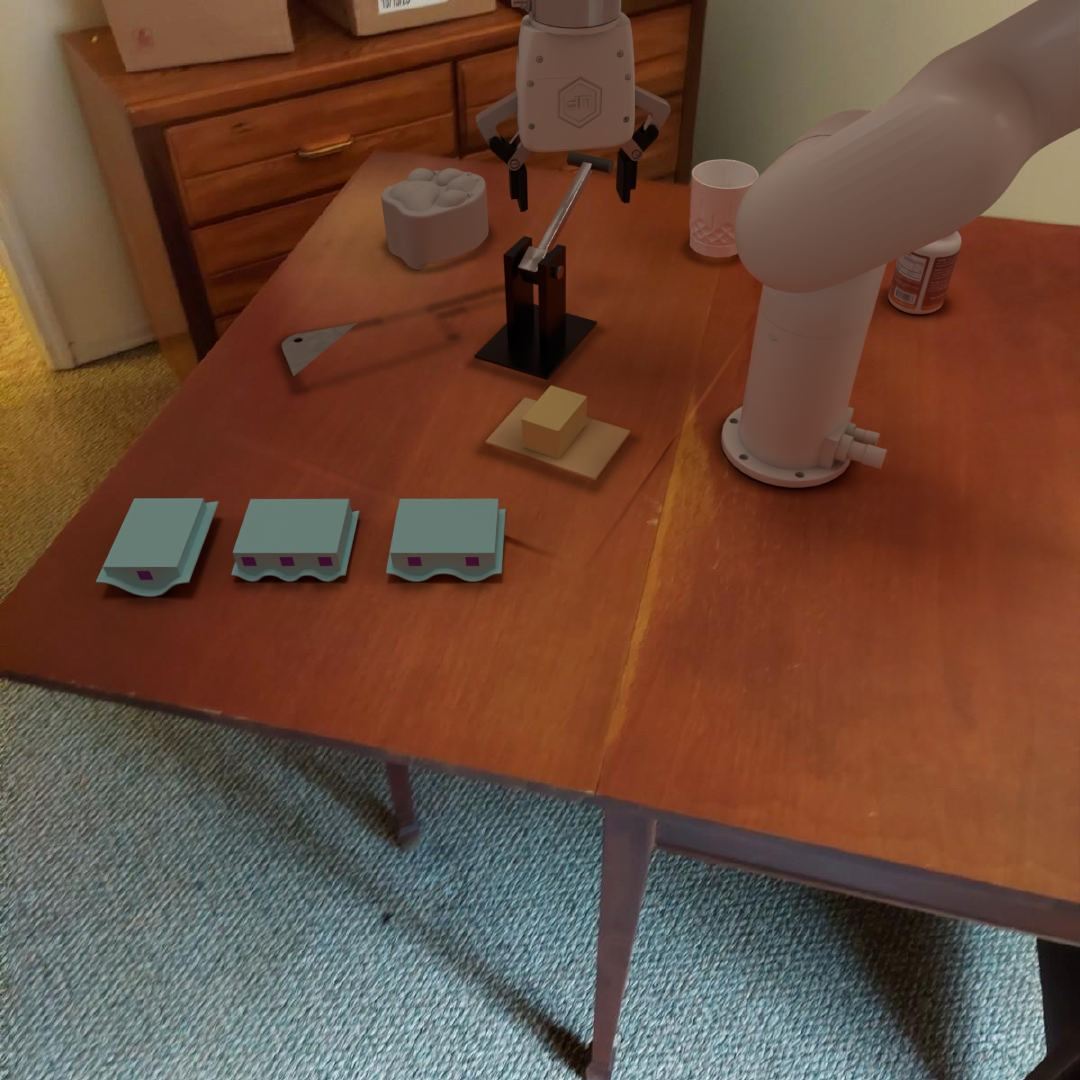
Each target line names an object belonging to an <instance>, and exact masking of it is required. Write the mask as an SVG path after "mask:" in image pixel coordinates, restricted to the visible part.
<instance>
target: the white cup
mask: <svg viewBox="0 0 1080 1080" xmlns="http://www.w3.org/2000/svg"><path fill="white" fill-rule="evenodd" d="M759 176H760V174H759V172H758V170H757V169H756V168H755V167H754V166H753V165H751V164H748V163H746V162H743V161H740V160H735V159H724V158H720V159H710V160H706V161H703V162H700V163H698V164H697V165H695V166H694V167H693V168H692V170H691V180H690V181H691V182H690V198H689V199H690V201H689V226H688V227H689V234H690V235H689V247H690V248H691V249H692V250H693V252H696V253H698V254H699V255H702V256H704V257H711V258H715V259H717V258H730V257H733V256H735V255H738V253H737V249H736V245H735V237H734V228H735V220H736V215H737V211H738V208H739V206H740V203H741V201H742V199H743V197H744V195H745V194H746V192H747V190H748V189H749V188H750V186H751V185H752V184H753V183H754V182H755V180H756V179H757V178H758V177H759Z"/></svg>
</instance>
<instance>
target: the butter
mask: <svg viewBox="0 0 1080 1080" xmlns="http://www.w3.org/2000/svg"><path fill="white" fill-rule="evenodd" d="M536 401H537V402H536V403H535V404H534V405H533V406H532V407H531V409H530V410H529V411H528V412H527V413H526V414H525V415H524V417H523V418H522V419H521V422H522V446H523V447H524V448H527V449H529V450H532V451H535V452H538V453H541V454H544V455H547V456H550V457H553V458H556V459H559V458H560V457H561V456H562V455H563V453H564V452H565V451H566V450H567V448H568V447H569V446H570V445H571V443H572V442H573V441H574V439H575V438H576V437H577V436H578V434H579V433H580V432H581V431H582V429H583V428H584V427H585V426H586V423H587V417H588V415H587V414H588V396H587V395H584V394H581V393H577V392H574V391H571V390H568V389H564V388H561V387H558V386H556V385H555V386H554V385H550V386H549V387H548V388H546V390H545V391H544V392H543V394H542V395H541V396H540V397H539V398H538V399H537V400H536Z"/></svg>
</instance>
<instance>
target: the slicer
mask: <svg viewBox="0 0 1080 1080" xmlns="http://www.w3.org/2000/svg"><path fill="white" fill-rule="evenodd" d="M529 246H531V247H533V238H532V237H531V236H526V235H522V237H521V238H520V239H519V240H518V241H516V242H515V243H514V244H513V245H512V246H511V247H509V249H508V250H507V251H506V252H504V254H503V255H502V257H503V258H502V259H503V275H504V277H503V278H504V294H505V296H504V297H505V310H506V311H505V317H506V323H505V324H504V325H503V326H502V327H501V328H500V329H499V330H498V331H497V332H496V333H495V334H494V335H493V336H492V337H491V338H490V339H489V340H488V341H487V342H486V343H485V344H484V345H483V346H482V347H481V348H480V349H479V350H478V351H477V352H476V353H475V354H474V358H475V359H478V360H480V361H483V362H488V363H490V364H494V365H497V366H501V367H504V368H507V369H510V370H514V371H517V372H520V373H524V374H526V375H529V376H533V377H536V378H539V379H543V380H546V381H548V380H549V379H550V378H551V377H552V375H553V374H554V373H555V372H557V370H558V368H560V366H561V365H563V363H564V362H565V361H566V359H567V358H568V357H570V355H571V354H572V353H573V352H574V350H576V349H577V347H578V346H579V345H580V344H581V343H582V342H583V340H584V339H585V338H586V337H587V336H588V335H589V334H590V332H591V331H592V330H593V329H594V328H595V327H596V326H597V324H598V321H597V320H594V319H590V318H586V317H582V316H579V315H577V314H572V313H568V312H567V246H566V245H562V244H560V243H559V244H556V245H554V246H553V248H552V250H551V251H550V252H549V253H548V254H547V255H546V256H545V257H544V258H543V259H542V260H541V261H540V262H539V263H538V285H537V292H538V293H537V294H538V296H537V298H538V299H537V300H538V304H536V303H535V295H534V291H535V290H534V284H532V283H528V282H524V281H523V280H522V277H521V274H520V272H519V269H518V266H519V264H520V262H521V260H522V258H523V257H524V255H525V253H526V251H527V249H528V247H529Z"/></svg>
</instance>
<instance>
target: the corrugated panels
mask: <svg viewBox="0 0 1080 1080" xmlns="http://www.w3.org/2000/svg"><path fill="white" fill-rule="evenodd" d="M219 503H220V502H219V500H215V501H209V502H206V501H205V498H203V497H201V498H199V497H194V498H193V497H191V498H190V497H185V498H184V497H183V498H182V497H181V498H180V497H178V498H177V497H176V498H174V497H173V498H167V497H165V498H163V497H162V498H159V497H158V498H157V497H155V498H151V497H150V498H149V497H148V498H146V497H145V498H139V497H138V498H137V497H135V498H133V501H132V502H131V505H130V507H129V509H128V511H127V513H126V516H125V518H124V520H123V522H122V524H121V527H120V529H119V530H118V533H117V535H116V537H115V539H114V540H113V541H114V542H113V543H112V546H111V548H110V550H109V552H108V555H107V557H106V559H105V561H104V563H103V565H102V567H101V570H100V572H99V574H98V576H97V577H96V580H95V583H96V584H97V583H99V584H106V585H107V584H108V585H111V586H113V587H117V588H119V589H121V590H123V591H125V592H128V593H130V594H132V595H136V596H139V597H145V598H146V597H147V598H153V597H159V596H163V595H164V594H166V593H167V592H168V591H169V590H170V589H171V588H173V587H174V586H177V585H181V584H189V583H190V581H191V578H192V575H193V573H194V570H195V567H196V565H197V562H198V559H199V557H200V554H201V551H202V550H203V549H202V548H203V546H204V544H205V541H206V538H207V535H208V533H209V530H210V527H211V525H212V523H213V522H212V521H213V519H214V516H215V513H216V510H217V508H218V506H219ZM506 512H507V509H506V508H500V503H499V498H399V502H398V507H397V508H396V515H395V519H394V526H393V531H392V537H391V542H390V549H389V554H388V559H387V565H386V569H385V574H387V575H394V576H397V577H398V578H399V577H400V578H401V579H402V580H403V579H404V580H405V581H409V582H413V583H414V582H415V583H417V582H418V583H419V582H424V581H427V580H429V579H430V578H433V576H438V575H451V576H454V577H457V578H458V579H459V580H462V581H466V582H471V583H475V582H482V581H484V580H485V579H487V578H489V577H491V576H494V575H502V574H503V573H502V572H503V558H504V544H505V543H504V542H505V528H506V527H505V524H506ZM359 516H360V510H354V511H353V510H352V506H351V501H350V498H250V499H249V502H248V506H247V508H246V511H245V514H244V518H243V521H242V523H241V526H240V530H239V533H238V536H237V539H236V541H235V544H234V547H233V550H232V555H233V558H234V564H233V568H232V571H231V574H230V576H232V577H233V576H235V577H238V578H240V579H243V580H244V581H247V582H251V583H252V582H259V581H260V580H261V579H262V578H264V577H268V576H269V577H270V576H272V577H276V578H278V579H280V580H282V581H284V582H287V583H290V582H291V583H292V582H295V581H298V580H299V579H300V578H302V577H305V576H307V577H313V578H316V579H318V580H320V581H321V582H326V583H329V582H333V581H336V579H338V578H339V577H342V576H343V577H344V576H347V571H348V566H349V561H350V558H351V557H350V556H351V552H352V548H353V543H354V539H355V534H356V530H357V524H358V521H359Z"/></svg>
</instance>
